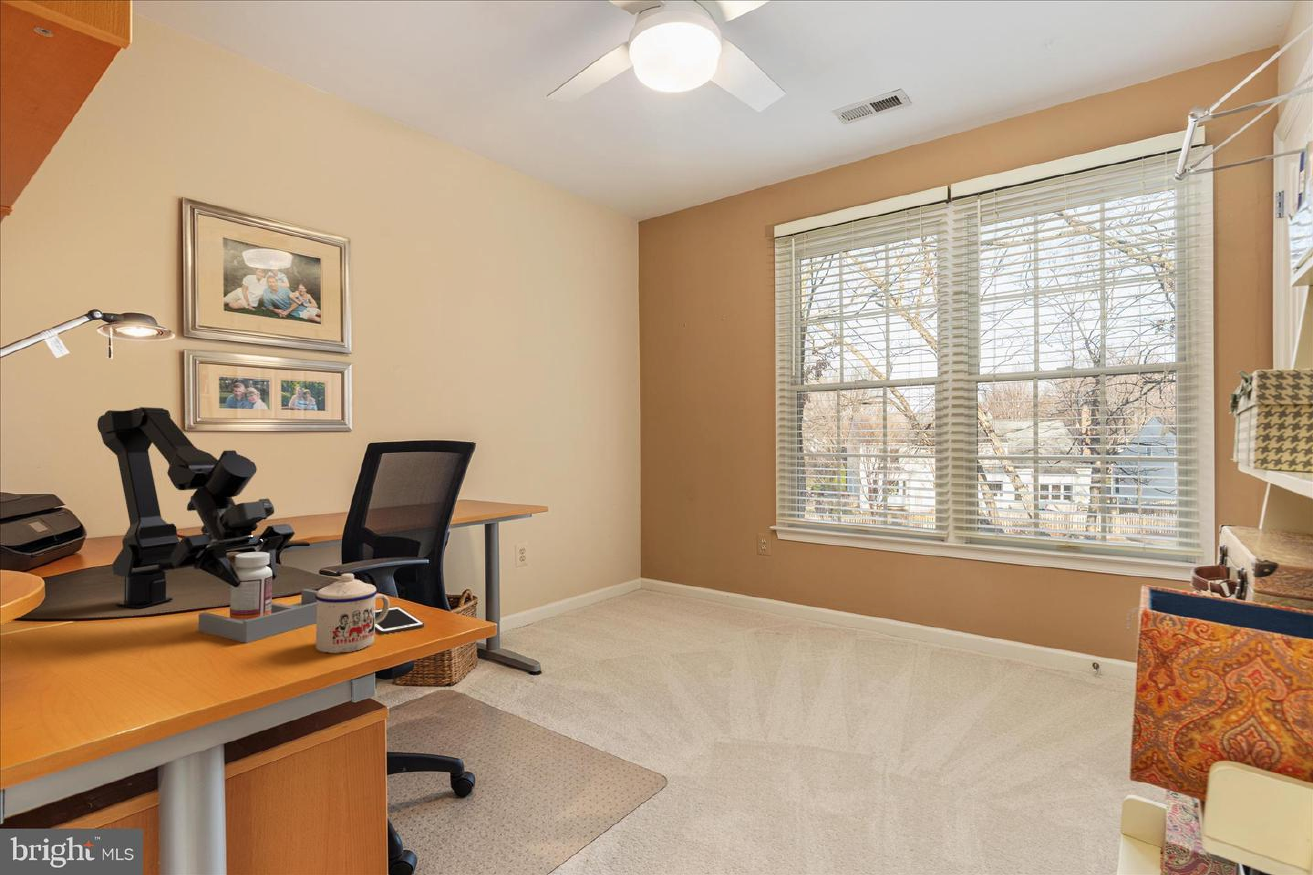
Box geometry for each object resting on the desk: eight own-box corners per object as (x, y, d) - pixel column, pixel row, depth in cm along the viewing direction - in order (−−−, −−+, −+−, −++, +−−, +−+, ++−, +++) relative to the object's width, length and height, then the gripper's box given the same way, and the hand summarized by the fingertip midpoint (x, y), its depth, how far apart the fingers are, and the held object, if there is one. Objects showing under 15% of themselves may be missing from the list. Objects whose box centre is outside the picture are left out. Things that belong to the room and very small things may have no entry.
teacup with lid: (331, 659, 96) (333, 583, 96) (303, 646, 101) (305, 574, 101) (402, 639, 106) (404, 571, 106) (373, 628, 111) (375, 563, 111)
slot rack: (198, 630, 107) (198, 610, 107) (305, 603, 126) (306, 586, 126) (246, 643, 102) (246, 621, 102) (351, 612, 120) (351, 594, 120)
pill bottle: (258, 611, 114) (260, 549, 114) (278, 617, 111) (280, 553, 111) (222, 619, 108) (224, 554, 108) (241, 625, 106) (243, 559, 105)
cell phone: (398, 610, 124) (398, 605, 124) (425, 629, 113) (426, 623, 113) (356, 617, 119) (356, 612, 119) (381, 637, 108) (381, 631, 108)
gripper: (182, 488, 103) (222, 562, 98) (289, 481, 120) (327, 545, 115) (153, 531, 106) (190, 605, 102) (262, 518, 123) (297, 581, 119)
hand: (256, 581), depth 109 cm, fingers closed on pill bottle, 6 cm apart
